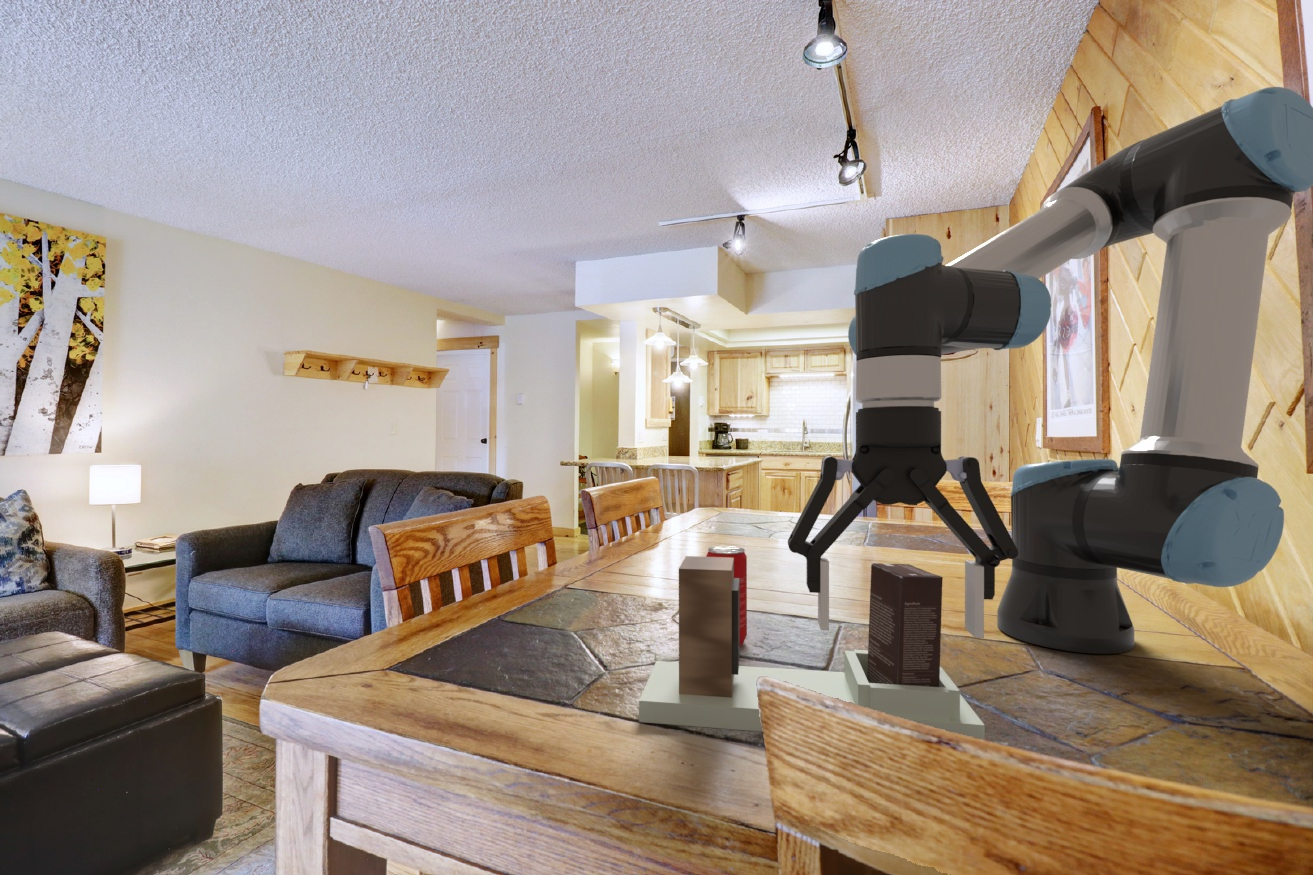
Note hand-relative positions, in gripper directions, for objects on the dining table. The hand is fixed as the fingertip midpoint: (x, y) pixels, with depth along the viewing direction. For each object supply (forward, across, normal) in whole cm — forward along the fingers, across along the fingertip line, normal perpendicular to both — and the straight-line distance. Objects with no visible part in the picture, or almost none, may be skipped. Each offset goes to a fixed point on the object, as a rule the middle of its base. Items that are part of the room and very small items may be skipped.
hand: (897, 629), depth 58 cm
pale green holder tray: (+8, +9, 0) cm, 12 cm away
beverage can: (+8, +17, -18) cm, 26 cm away
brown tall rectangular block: (+6, +18, 0) cm, 19 cm away
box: (+6, 0, 0) cm, 6 cm away
